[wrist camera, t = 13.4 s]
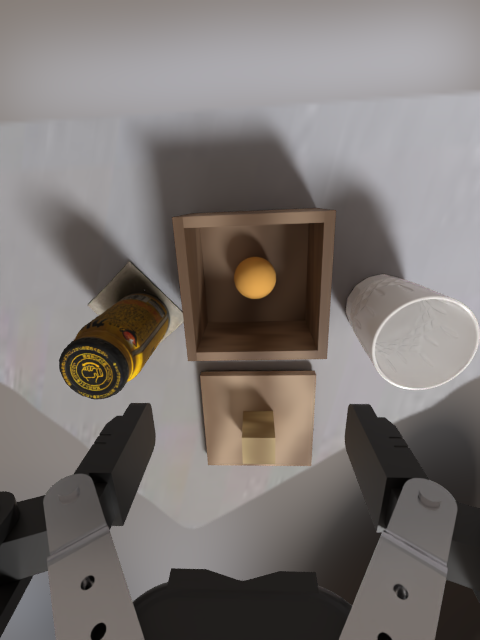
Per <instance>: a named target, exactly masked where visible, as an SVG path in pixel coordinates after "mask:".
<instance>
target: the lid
mask: <svg viewBox="0 0 480 640" xmlns="http://www.w3.org/2000/svg"><path fill="white" fill-rule="evenodd" d="M200 380H201V391H202V402H203V413H204V424H205V435H206V446H207V457H208V465H262V466H311V459H312V441H313V423H314V405H315V387H316V373H315V371H224V372H201V375H200Z"/></svg>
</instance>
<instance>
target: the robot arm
mask: <svg viewBox="0 0 480 640" xmlns="http://www.w3.org/2000/svg"><path fill="white" fill-rule="evenodd" d="M154 446H155V428H154V421H153V414H152V408H151V405H150V403H131V404H130V405H129V406H128V408H127V409H126V411H125V413H124V414H123V416H116V417H115V418H113V419H112V420H111V421H110V422H108V423H107V424H106V425H105V427H104V428H103V430H102V431H101V433H100V436H98V438H97V439H96V441H95V442H94V444H93V445H92V447H91V448H90V450H89V451H88V453H87V454H86V456H85V457H84V459H83V460H82V462H81V464H80V465H79V467H78V468H77V470H76V471H75V473H74V474H73V475H70V476H67V477H65V478H63V479H61V480H59V481H58V482H56V483H55V484H54V485H53V486H52V487H51V488H50V489H49V490H48V491H47V493H46V495H44V496H40V497H36V498H32V499H28V500H24V501H20V502H16V500H15V497H14V495H13V494H12V493H10V492H0V637H1V635H2V634H3V632H4V630H5V628H6V626H7V624H8V622H9V620H10V619H11V617H12V615H13V613H14V611H15V609H16V607H17V605H18V603H19V602H20V600H21V598H22V596H23V594H24V592H25V590H26V588H27V586H28V585H29V583H30V581H31V579H32V577H33V575H35V574H39V573H42V572H45V571H48V575H49V584H50V592H51V601H52V609H53V618H54V626H55V635H56V640H435V634H436V628H437V624H438V619H439V613H440V608H441V603H442V598H443V592H444V587H445V582H446V580H449V581H452V582H455V583H458V584H461V585H463V586H466V587H469V588H472V589H473V591H474V593H475V595H476V597H477V599H478V601H479V603H480V508H477V507H472V506H469V505H466V504H462V503H459V502H457V501H455V499H454V498H453V496H452V495H451V494H450V493H449V492H448V491H447V490H446V489H445V488H443V487H442V486H440V485H439V484H437V483H435V482H433V481H430V480H429V479H428V477H427V475H426V474H425V472H424V471H423V469H422V467H421V466H420V464H419V463H418V461H417V459H416V458H415V456H414V455H413V453H412V451H411V450H410V448H408V445H407V444H406V442H405V440H404V439H403V438H402V436H401V434H400V432H399V431H398V429H397V428H396V426H395V425H393V424H392V423H391V422H390V421H388V420H387V419H386V418H385V417H377V416H376V414H375V412H374V410H373V409H372V407H371V405H369V404H350V405H349V406H348V413H347V421H346V430H345V446H346V451H347V454H348V456H349V459H350V461H351V464H352V467H353V470H354V472H355V475H356V478H357V481H358V483H359V486H360V489H361V491H362V494H363V497H364V499H365V502H366V505H367V507H368V510H369V513H370V516H371V518H372V521H373V524H374V526H375V529H376V532H382V534H381V537H380V539H379V541H378V544H377V546H376V549H375V551H374V554H373V556H372V559H371V561H370V564H369V567H368V569H367V571H366V574H365V576H364V579H363V581H362V584H361V586H360V588H359V591H358V593H357V596H356V598H355V601H354V604H353V606H352V605H350V604H349V603H348V602H347V601H345V600H344V599H343V598H341V597H340V596H338V595H336V594H335V593H333V592H331V591H329V590H327V589H325V588H322V587H319V586H318V583H317V577H316V573H315V572H286V571H285V572H284V571H279V572H275V573H272V574H268V575H264V576H261V577H257V578H254V579H250V580H246V581H240V580H236V579H233V578H230V577H227V576H224V575H221V574H218V573H215V572H212V571H209V570H206V569H171V572H170V577H169V581H168V582H167V583H163V584H161V585H158V586H156V587H154V588H152V589H150V590H149V591H147V592H145V593H144V594H142V595H141V596H140V597H138V598H137V599H136V600H135V601H134V602H132V599H131V596H130V593H129V589H128V586H127V583H126V580H125V577H124V574H123V571H122V568H121V565H120V561H119V558H118V556H117V552H116V549H115V546H114V543H113V540H112V537H111V534H110V528H111V526H123V525H124V522H125V520H126V517H127V515H128V512H129V510H130V507H131V505H132V502H133V500H134V497H135V495H136V492H137V490H138V487H139V485H140V482H141V480H142V477H143V475H144V472H145V470H146V467H147V465H148V462H149V460H150V457H151V455H152V452H153V450H154Z"/></svg>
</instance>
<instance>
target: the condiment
mask: <svg viewBox="0 0 480 640" xmlns="http://www.w3.org/2000/svg"><path fill="white" fill-rule="evenodd" d="M144 289H145V291H144ZM88 306H89V307H90V308H91V309H92V310H93V311H94V312H95V313H97V314H98V315H99V316H98V317H96V318H95V319H94V320H92V321H91V322H89V323H88V324H87V325H85V326H84V327H83V328H82V329H81V330H80V331H79V333H78V334H77V336H76V338H75V340H74V341H72V342H71V343H70V344H69V345H68V346H67V347H66V348H65V349H64V351H63V352H62V354H61V357H60V359H59V368H60V372H61V374H62V377H63V378H64V380H65V382H66V384H67V385H68V386H69V387H70V388H71V389H73V390H74V391H75V392H77V393H78V394H80V395H82V396H85V397H88V398H91V399H104V398H108V397H111V396H112V395H115V394H117V393H118V392H119V391H121V390H122V388H123V387H124V386H125V384H126V383H127V382H128V381H130V380H131V379H133V378H134V377H136V376H137V375H138V373H139V372H140V371H141V369H142V368H143V366H144V365H145V363H146V362H147V360H148V359H149V357H150V356H151V354H152V353H153V351H154V350H155V349H156V347H157V346H158V345H159V344H160V343H161V342H162V341H163V340H164V339H165V338H166V337H168V336H169V335H170V334H171V333H172V332H173V331H174V330H175V329H176V328H178V327H179V326H180V325H181V324H182V323H183V322H184V320H183V313H182V312H181V311H180V310H179V309H178V308H177V307H176V306H175V305H174V304H173V303H172V302H171V301H170V300H169V299H168V298H167V297H166V296H165V295H164V294H163V293H162V292H161V291H160V290H159V289H158V288H156V287H155V286H154V285H153V284H152V283H151V282H150V281H149V280H148V279H147V278H146V277H145V276H144V275H143V274H142V273H141V272H140V271H139V270H138V269H136V268H135V266H134V265H133V264H131V263H130V262H128V263H127V264H126V265H125V267H124V268H123V269H122V270H121V271H120V272H119V273H118V274H117V275H116V276H115V277H114V278H113V279H112V281H111V282H110V283H109V284H108V285H107V286H106V287H105V288H104V289H103V290H102V291H101V292H100V293H99V294H98V295H97V296H96V297H95V299H93V301H92V302H91V303H90V304H89V305H88Z"/></svg>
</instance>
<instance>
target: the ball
mask: <svg viewBox="0 0 480 640" xmlns="http://www.w3.org/2000/svg"><path fill="white" fill-rule="evenodd" d="M234 282H235V286H236V288H237V290H238V291H239V292H240V293H241V294H242V295H243V296H245V297H247V298H250V299H260V298H263V297H265V296H267V295H268V294H269V293H270V292H271V291H272V290H273V288H274V286H275V283H276V273H275V270H274V268H273V266H272V265H271V264H270V262H268V261H267V260H266V259H263V258H261V257H250V258H247V259H245V260H243V261H242V262H241V263H240V264H239V265H238V267H237V268H236V270H235V274H234Z"/></svg>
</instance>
